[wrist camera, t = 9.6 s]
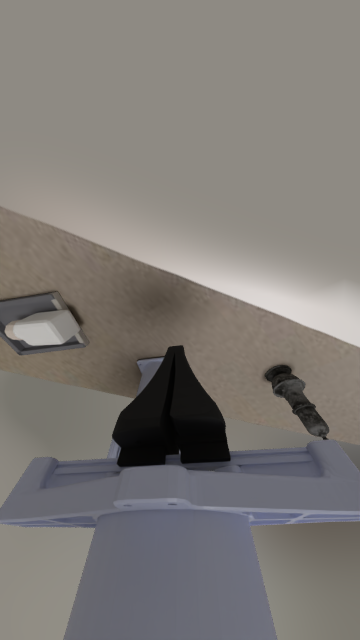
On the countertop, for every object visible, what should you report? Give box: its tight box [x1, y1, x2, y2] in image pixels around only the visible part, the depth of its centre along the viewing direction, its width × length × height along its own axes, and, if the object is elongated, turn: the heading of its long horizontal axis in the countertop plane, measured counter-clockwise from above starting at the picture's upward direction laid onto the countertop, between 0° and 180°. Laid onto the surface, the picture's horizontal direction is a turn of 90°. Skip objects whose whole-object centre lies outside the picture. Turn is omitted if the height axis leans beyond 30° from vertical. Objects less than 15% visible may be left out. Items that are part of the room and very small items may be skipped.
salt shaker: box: [265, 365, 329, 440], centre depth 25 cm, size 6×6×12 cm
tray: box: [0, 291, 89, 355], centre depth 24 cm, size 10×13×1 cm
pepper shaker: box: [5, 310, 80, 346], centre depth 21 cm, size 4×4×10 cm
